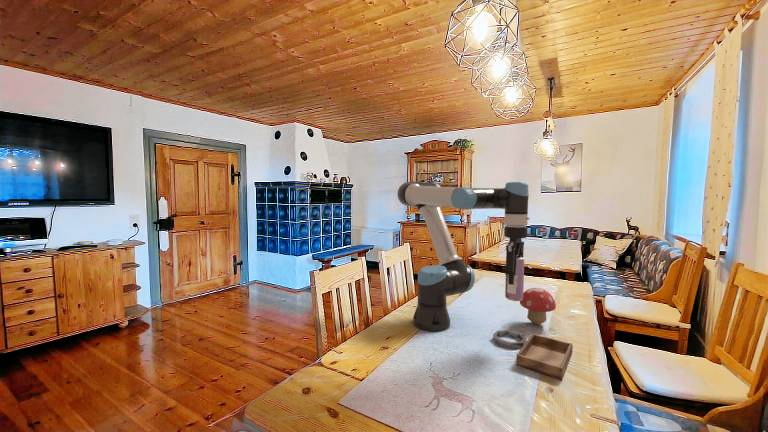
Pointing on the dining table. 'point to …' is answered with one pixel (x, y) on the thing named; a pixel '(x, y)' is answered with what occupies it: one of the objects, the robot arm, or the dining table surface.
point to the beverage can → (517, 281)
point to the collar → (507, 343)
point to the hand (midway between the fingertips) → (514, 290)
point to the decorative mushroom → (537, 304)
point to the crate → (545, 356)
